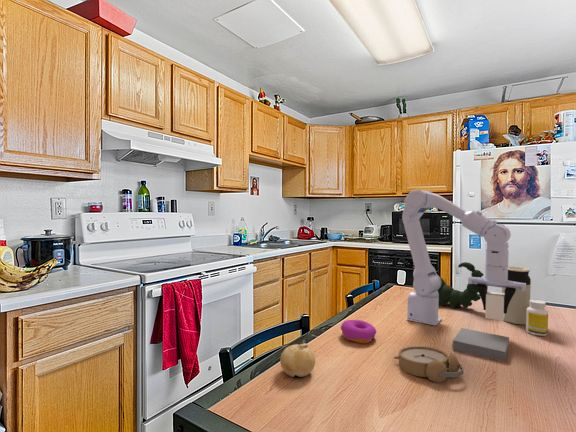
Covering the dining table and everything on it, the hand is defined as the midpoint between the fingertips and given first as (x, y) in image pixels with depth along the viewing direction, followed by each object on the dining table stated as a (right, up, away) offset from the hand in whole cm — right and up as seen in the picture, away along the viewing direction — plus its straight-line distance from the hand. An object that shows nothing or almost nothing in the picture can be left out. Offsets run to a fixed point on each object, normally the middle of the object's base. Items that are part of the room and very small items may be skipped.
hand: (495, 310), depth 102 cm
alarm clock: (-28, -9, -21) cm, 36 cm away
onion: (-59, -8, -23) cm, 64 cm away
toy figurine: (0, -7, +32) cm, 33 cm away
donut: (-41, -8, -2) cm, 42 cm away
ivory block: (0, -2, 0) cm, 2 cm away
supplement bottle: (+15, -8, +3) cm, 17 cm away
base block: (-9, -8, -8) cm, 14 cm away
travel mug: (+15, -8, +14) cm, 22 cm away
